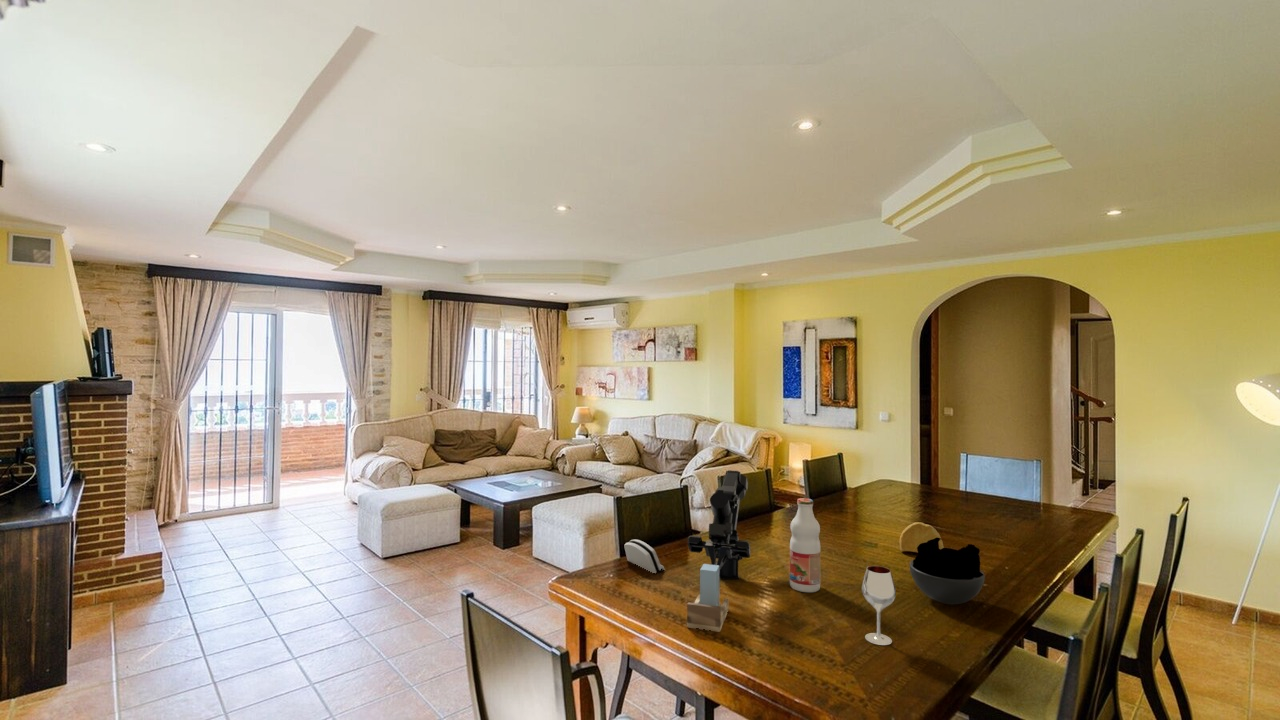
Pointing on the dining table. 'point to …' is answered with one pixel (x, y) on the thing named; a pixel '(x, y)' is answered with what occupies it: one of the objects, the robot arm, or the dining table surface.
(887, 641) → the wineglass
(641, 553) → the white arched piece
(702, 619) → the channel
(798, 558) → the fruit juice
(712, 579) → the light blue block
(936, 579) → the coal bowl
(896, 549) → the dining table surface
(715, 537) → the robot arm
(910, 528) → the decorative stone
